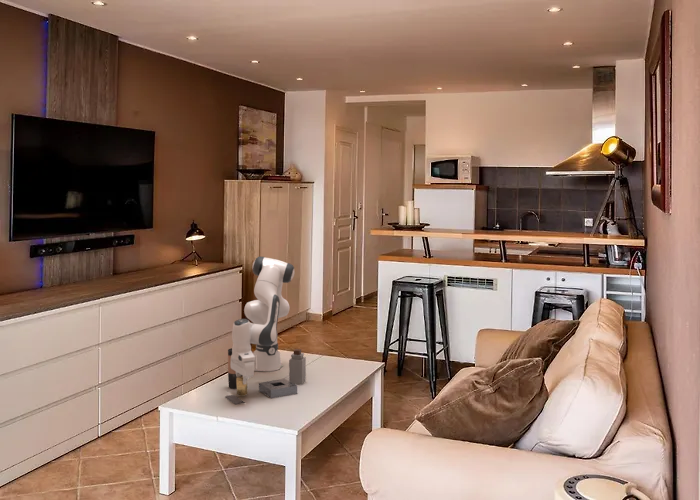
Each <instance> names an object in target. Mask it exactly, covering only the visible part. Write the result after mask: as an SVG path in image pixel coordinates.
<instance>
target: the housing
mask: <svg viewBox="0 0 700 500" xmlns="http://www.w3.org/2000/svg"><path fill="white" fill-rule="evenodd" d="M258 392H260V393H262V394H263V395H265V396H267V397H268V398H269V399H275V398H279V397H287V396H291V395H298V384H293V383H292V382H290V381H289V379H286V378H280V379H273V380H268V381H261V382H258Z"/></svg>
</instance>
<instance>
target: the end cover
mask: <svg viewBox="0 0 700 500" xmlns="http://www.w3.org/2000/svg"><path fill="white" fill-rule="evenodd" d="M236 380H237V389H236V395H237V396H241V397H242V396H246V395H248V383H247V384H242V380H243V376H239V377H237V378H236Z"/></svg>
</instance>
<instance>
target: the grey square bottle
mask: <svg viewBox="0 0 700 500" xmlns="http://www.w3.org/2000/svg"><path fill="white" fill-rule="evenodd" d="M304 354H305V353H304V352H302V348H299V349H298V348H295V349H294V350H293V353H292V354H290V358H289V360H288V361H289V363H288V367H289V368H288V376H289V378H288V381H290V382H292V383H293V384H295V385H300V386H302V385H304V383H306V382H307V381H306V378H307V377H306V375H307V373H306V371H307V370H306V369H307V368H306V367H307V366H306V365H307V364H306V363H307V360H306V359H307V358H306V357H305V356H304Z"/></svg>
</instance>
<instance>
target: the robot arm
mask: <svg viewBox="0 0 700 500" xmlns="http://www.w3.org/2000/svg"><path fill="white" fill-rule="evenodd" d="M251 268H252V273H253V274H254V276H257V279H256V282H255V284H254V288H253V293H254V296H255V298H256V299H254V300H251V301H248V302H246V304H245V306H244V309H243V311H244V312H243V313H244V316H245V318H239V319H236V320H235V321H233V323H232V330H231V340H232V341H231V342H232V346H231V347H232V355H231V364H230V366H231V369H233V370H234V371H236V376H237V377H239V376H241V375H243V380H242V384H247V385H248V379H250V378H253V377H254V375H255V372H256V371H257V372H258V371H259V372H273V371H278V370H280V369H281V368H282V367H284V365H283V363H282V362H281V361H282V360H281V359H282V358H281V352H280V351H279V343H278V321H279V319H280V318H283V317H287V316H288V314H289V312H290V309H291V308H290V304H289V301H288V300H287V299H285V298H284V297H283V295H282V292H283V291H282V289H283V285H284V283H286V284H289V283H290V282H292V280H293V278H294V277H295V272H296V271H295V266H294V265H293V264H291V263H289V262H285V261H282V260H279V259H275V258H271V257H265V256H257V257H256V258H255V259H254V260H253V262H252V267H251ZM250 321H251V322H250ZM251 344H253V345H255V350H254V351H252V345H251Z"/></svg>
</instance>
